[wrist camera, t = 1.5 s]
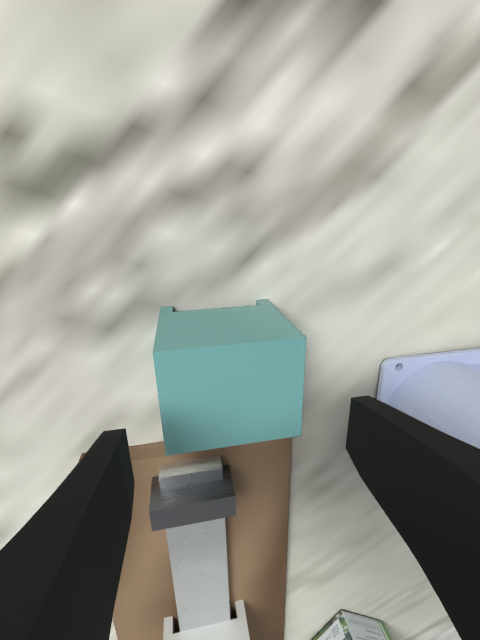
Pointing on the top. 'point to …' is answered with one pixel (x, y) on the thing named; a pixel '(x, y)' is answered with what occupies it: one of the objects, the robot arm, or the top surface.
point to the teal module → (228, 376)
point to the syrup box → (353, 628)
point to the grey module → (212, 628)
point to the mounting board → (241, 541)
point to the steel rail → (196, 535)
